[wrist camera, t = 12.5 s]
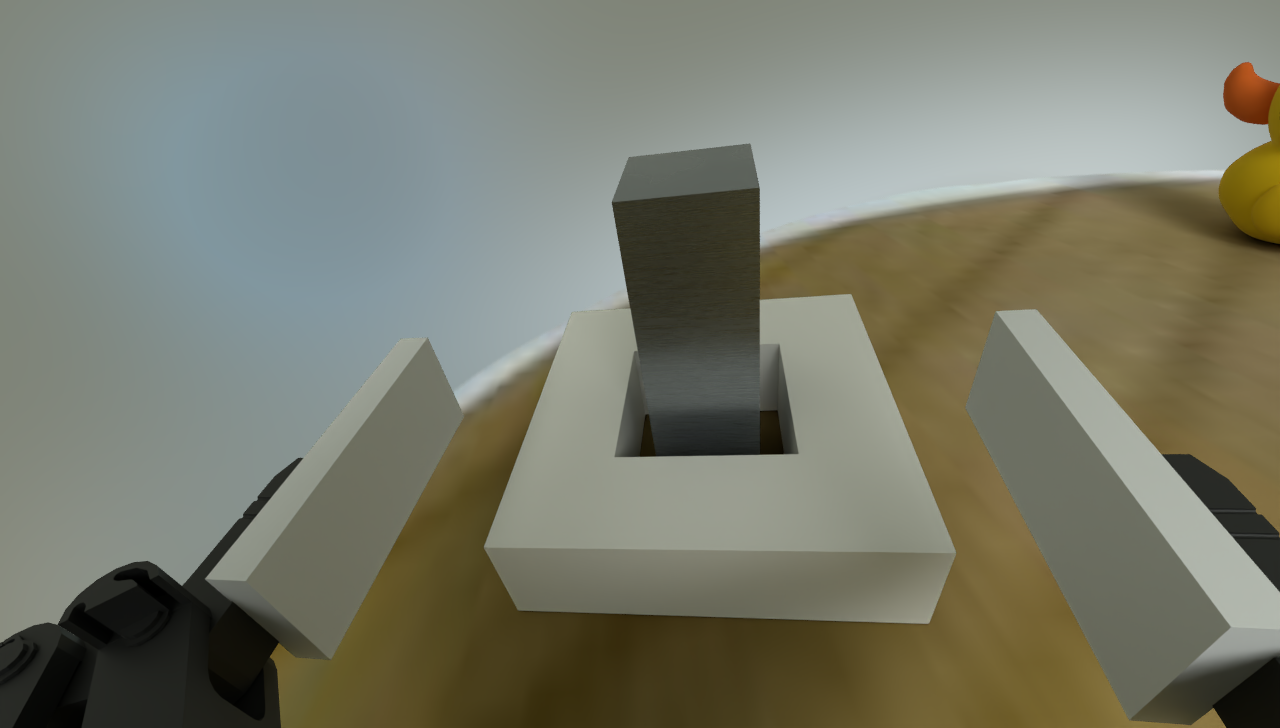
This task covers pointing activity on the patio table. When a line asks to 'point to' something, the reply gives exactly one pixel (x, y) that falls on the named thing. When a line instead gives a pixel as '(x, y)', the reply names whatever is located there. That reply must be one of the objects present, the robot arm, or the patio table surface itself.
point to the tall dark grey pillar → (695, 295)
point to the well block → (724, 489)
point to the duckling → (1254, 157)
